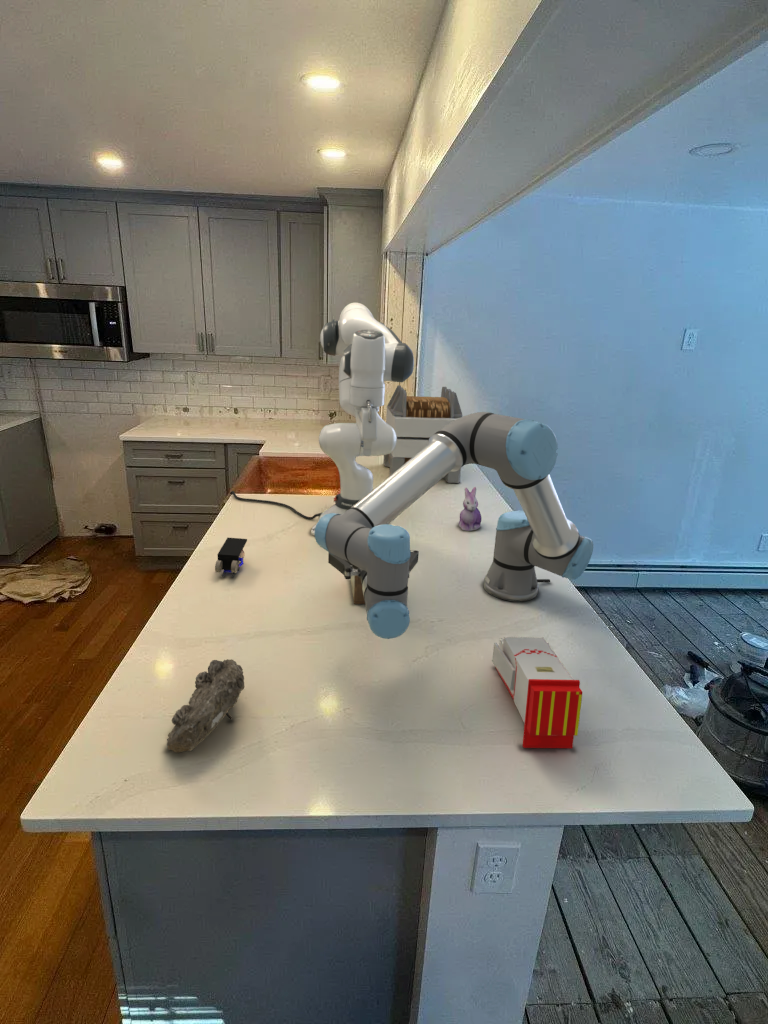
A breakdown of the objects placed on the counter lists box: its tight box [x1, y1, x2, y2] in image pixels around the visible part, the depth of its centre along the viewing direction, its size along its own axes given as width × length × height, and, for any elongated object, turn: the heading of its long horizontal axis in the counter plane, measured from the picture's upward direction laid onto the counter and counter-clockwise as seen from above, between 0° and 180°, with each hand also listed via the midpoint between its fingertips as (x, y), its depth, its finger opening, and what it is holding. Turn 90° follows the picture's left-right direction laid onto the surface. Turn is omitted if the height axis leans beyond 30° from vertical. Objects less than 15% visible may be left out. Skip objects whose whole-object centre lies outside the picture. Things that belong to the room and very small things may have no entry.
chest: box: [350, 575, 365, 605], centre depth 156 cm, size 14×5×11 cm, turn 7°
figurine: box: [458, 486, 482, 532], centre depth 206 cm, size 9×10×15 cm
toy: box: [491, 636, 583, 749], centre depth 115 cm, size 12×13×30 cm
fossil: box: [166, 658, 245, 754], centre depth 106 cm, size 22×10×15 cm
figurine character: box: [214, 537, 248, 578], centre depth 166 cm, size 7×8×15 cm
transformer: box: [383, 384, 463, 484], centre depth 268 cm, size 34×33×41 cm
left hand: (365, 450), depth 148 cm, fingers open, 8 cm apart
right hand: (370, 543), depth 134 cm, fingers open, 13 cm apart
